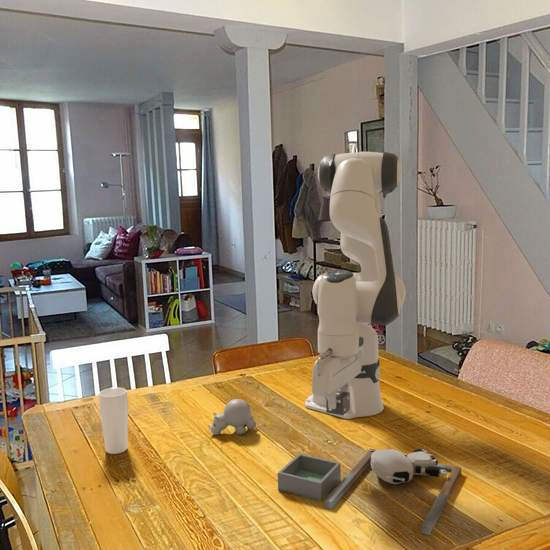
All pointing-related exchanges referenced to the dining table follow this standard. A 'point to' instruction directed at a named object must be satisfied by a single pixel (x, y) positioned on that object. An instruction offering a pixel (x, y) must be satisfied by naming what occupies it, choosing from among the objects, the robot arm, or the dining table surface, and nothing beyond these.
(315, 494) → the tray
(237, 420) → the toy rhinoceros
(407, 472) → the robot toy
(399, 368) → the dining table surface
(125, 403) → the drinking glass
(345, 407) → the die
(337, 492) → the track
